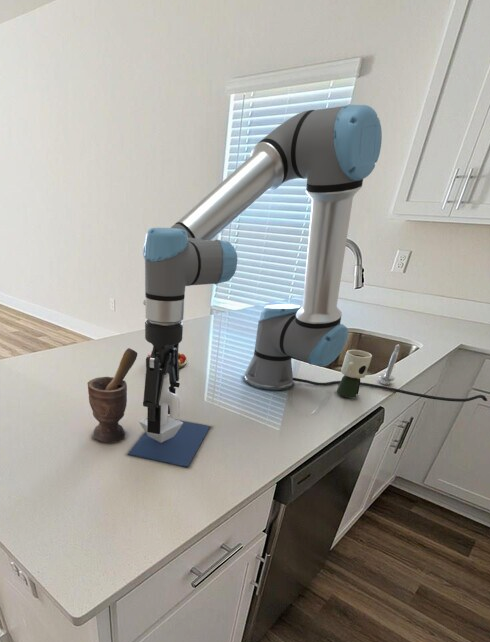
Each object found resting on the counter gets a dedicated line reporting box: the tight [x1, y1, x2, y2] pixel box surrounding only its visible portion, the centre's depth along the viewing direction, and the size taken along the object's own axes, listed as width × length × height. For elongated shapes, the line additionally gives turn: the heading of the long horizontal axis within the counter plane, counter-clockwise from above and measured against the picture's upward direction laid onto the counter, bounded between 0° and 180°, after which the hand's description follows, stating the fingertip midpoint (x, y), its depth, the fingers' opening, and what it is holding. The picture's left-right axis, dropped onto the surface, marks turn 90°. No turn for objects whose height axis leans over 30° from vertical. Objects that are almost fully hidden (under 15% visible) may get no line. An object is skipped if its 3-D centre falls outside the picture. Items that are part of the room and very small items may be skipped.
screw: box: [378, 343, 401, 386], centre depth 130 cm, size 13×5×5 cm
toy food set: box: [147, 352, 188, 369], centre depth 139 cm, size 13×13×3 cm
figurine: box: [138, 373, 183, 443], centre depth 90 cm, size 7×9×15 cm
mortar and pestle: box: [86, 347, 138, 443], centre depth 92 cm, size 12×9×20 cm
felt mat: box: [127, 419, 211, 468], centre depth 96 cm, size 14×20×1 cm
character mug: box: [336, 349, 373, 399], centre depth 120 cm, size 11×7×13 cm, turn 136°
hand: (161, 422), depth 92 cm, fingers closed on figurine, 9 cm apart
